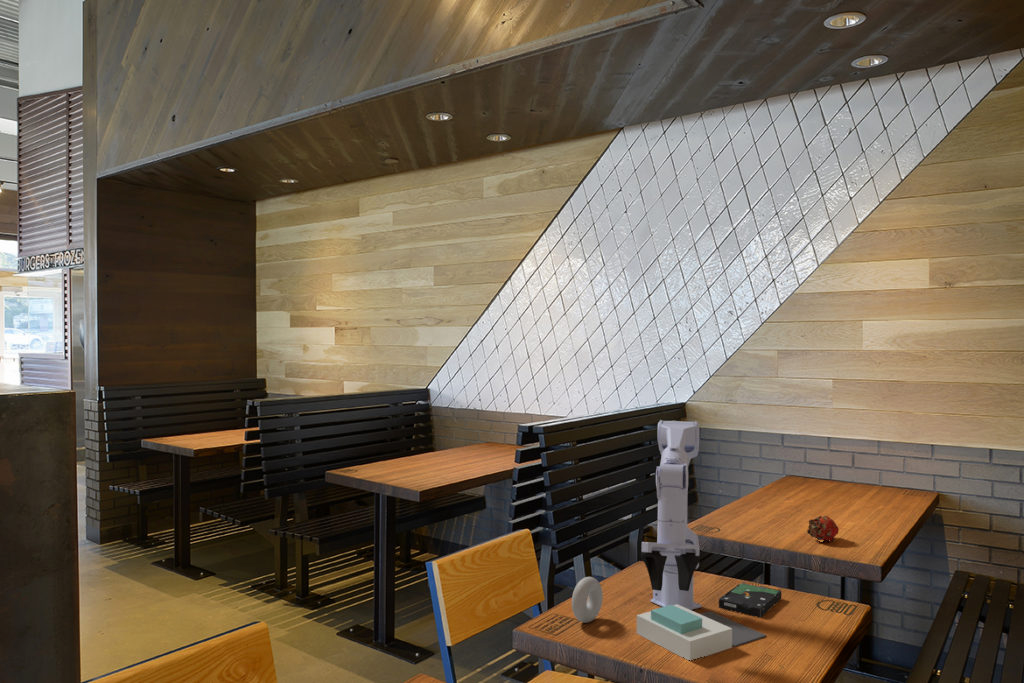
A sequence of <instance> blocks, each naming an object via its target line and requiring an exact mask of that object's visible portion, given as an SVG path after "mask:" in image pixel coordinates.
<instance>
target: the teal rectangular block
mask: <svg viewBox="0 0 1024 683" xmlns="http://www.w3.org/2000/svg"><path fill="white" fill-rule="evenodd" d="M650 611H651V620H653V621H655V622H657V623H659V624H661V625H663V626H665V627H667V628H669V629H671V630H673V631H676V632H678V633H680V634H683V633H687V632H690V631H693V630H697V629H700V628H702V618H700V617H698V616H696V615H694V614H691V613H689V612H687V611H685V610H682V609H680V608H678V607H676V606H674V605H669V606H665V607H662V606H660V607H658V608H654V609H651V610H650Z"/></svg>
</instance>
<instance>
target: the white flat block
mask: <svg viewBox="0 0 1024 683" xmlns="http://www.w3.org/2000/svg"><path fill="white" fill-rule="evenodd" d="M674 606H676V607H678V608H680V609H682V610H685V611H687V612H689V613H691V614H694V615H696V616H698V617H700V618H702V628H700V629H697V630H693V631H690V632H687V633H683V634H680V633H678V632H676V631H673V630H671V629H669V628H667V627H665V626H663V625H661V624H659V623H657V622H655V621H653V620H651V610H650V611H647V612H642V613H640V614H637V615H636V634H637V635H639V636H641V637H642V638H644V639H647V640H649V641H650V642H652V643H654V644H656V645H658V646H660V647H662V648H664V649H666V650H668V651H669V652H671V653H673V654H675V655H677V656H679V657H680V658H683V657H684V658H685V659H684V658H683V659H684V660H686V659H687V660H686V661H688V660H690V661H689V662H692V661H691V660H693V659H696V660H698V659H697V658H699V659H701V658H700V657H702V658H704V656H705V657H708V656H711V655H714V654H717V653H720V652H722V651H723V652H724V651H726V650H730V649H732V648H733V646H732V628H730V627H728V626H725V625H723V624H721V623H719V622H716V621H714V620H712V619H710V618H707V617H705V616H703V615H700V614H701V613H698V612H696V611H693V610H689V609H687V608H685V607H682V606H680V605H678V604H676V605H674ZM693 661H694V660H693Z"/></svg>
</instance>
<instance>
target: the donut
mask: <svg viewBox="0 0 1024 683" xmlns="http://www.w3.org/2000/svg"><path fill="white" fill-rule="evenodd" d="M603 596H604V595H603V588H602V586H601V584H600V582H599V581H598V580H597V578H594V577H592V576H585V577H583V578H581V579H580V580H579V581H578V582H577V583H576V585H575V587H574V590H573V592H572V597H571V610H572V613H573V615H574V617H575V618H576V620H577V621H578V622H581V623H590V622H592V621H593V620H595V619H596V618H597V616H598V615H599V613H600V611H601V608H602V605H603V599H604V598H603Z"/></svg>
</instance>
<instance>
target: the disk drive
mask: <svg viewBox="0 0 1024 683" xmlns="http://www.w3.org/2000/svg"><path fill="white" fill-rule="evenodd" d="M780 599H781V600H782V590H781V589H775V588H771V587H765V586H763V585H761V586H757V585H754V584H753V585H752V584H748V583H746V582H743V583H739V584H737V585H735V587H733V588H731V589H730V590H729V591H728V592H725V594H723V595H722V596H720V597H719V598H718V608H719V609H722V608H724V609H723V610H726V609H728V610H727V611H730V610H732V611H731V612H734V611H736V612H735V613H739V612H741V613H740V614H743V613H744V615H747V614H748V615H747V616H751V615H752V617H756V616H757V617H756V618H760V617H761V618H762V617H764V616H765V615H766V614H767V613H768V612H769V611H770V610H771V609H772V608H773V607H774V606H775V605H774V604H776V603H777V602H778V601H779V600H780ZM781 600H780V601H781ZM780 601H779V602H780ZM779 602H778V603H779ZM778 603H777V604H778ZM777 604H776V605H777ZM773 605H774V606H773ZM772 606H773V607H772ZM771 607H772V608H771ZM770 608H771V609H770ZM769 609H770V610H769ZM768 610H769V611H768ZM767 611H768V612H767ZM766 612H767V613H766ZM764 614H765V615H764ZM763 615H764V616H763Z"/></svg>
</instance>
